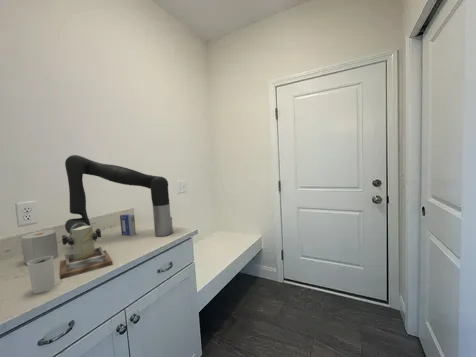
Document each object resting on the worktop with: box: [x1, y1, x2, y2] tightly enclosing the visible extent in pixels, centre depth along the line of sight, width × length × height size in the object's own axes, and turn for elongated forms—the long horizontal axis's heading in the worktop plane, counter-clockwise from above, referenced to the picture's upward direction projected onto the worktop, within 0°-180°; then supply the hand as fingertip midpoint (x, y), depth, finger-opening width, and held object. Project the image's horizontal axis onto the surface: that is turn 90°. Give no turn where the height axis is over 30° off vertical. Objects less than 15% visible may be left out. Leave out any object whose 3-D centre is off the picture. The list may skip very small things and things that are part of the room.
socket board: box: [59, 246, 114, 280], centre depth 96 cm, size 17×17×4 cm
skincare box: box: [71, 225, 95, 259], centre depth 95 cm, size 6×4×12 cm
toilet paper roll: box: [21, 229, 59, 266], centre depth 105 cm, size 12×12×12 cm
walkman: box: [119, 214, 137, 236], centre depth 136 cm, size 8×3×12 cm, turn 74°
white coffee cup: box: [26, 256, 56, 294], centre depth 78 cm, size 7×7×10 cm
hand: (83, 240), depth 94 cm, fingers closed on skincare box, 7 cm apart
